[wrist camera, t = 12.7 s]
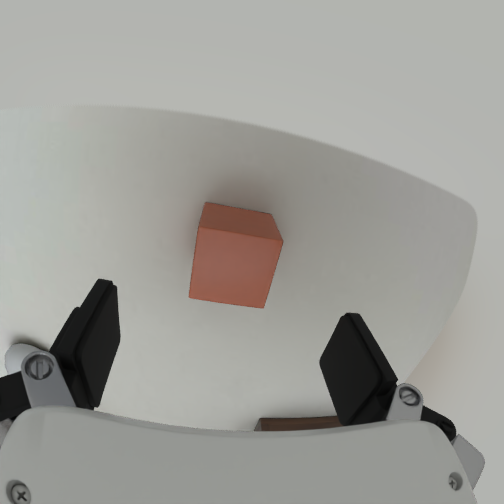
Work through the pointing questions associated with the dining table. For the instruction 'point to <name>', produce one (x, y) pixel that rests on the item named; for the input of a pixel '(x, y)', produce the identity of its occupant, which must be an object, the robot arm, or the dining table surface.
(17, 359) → the donut
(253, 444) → the robot arm
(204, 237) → the block
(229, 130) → the dining table surface
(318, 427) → the chest
